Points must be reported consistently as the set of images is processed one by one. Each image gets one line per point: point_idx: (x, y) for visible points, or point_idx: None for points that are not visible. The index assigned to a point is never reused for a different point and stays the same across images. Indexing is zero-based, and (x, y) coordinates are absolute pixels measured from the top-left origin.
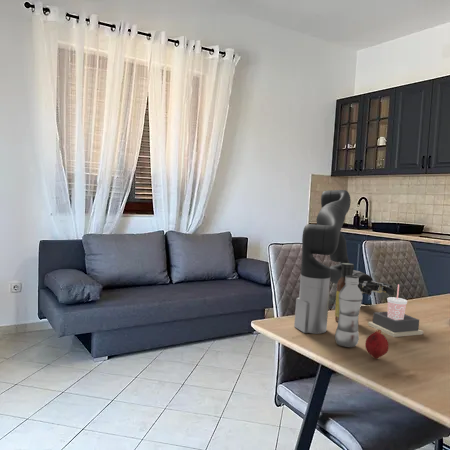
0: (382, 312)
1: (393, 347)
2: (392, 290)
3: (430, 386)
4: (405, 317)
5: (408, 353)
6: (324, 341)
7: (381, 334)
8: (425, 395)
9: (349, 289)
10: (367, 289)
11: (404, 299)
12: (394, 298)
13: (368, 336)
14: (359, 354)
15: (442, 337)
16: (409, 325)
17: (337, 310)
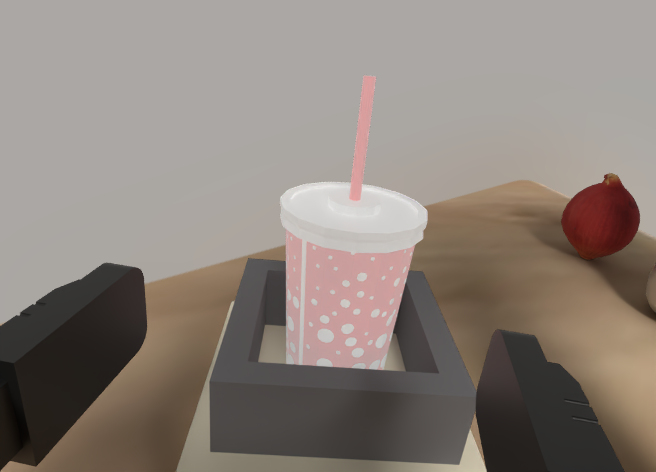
0: (389, 382)
1: (486, 280)
2: (140, 275)
3: (502, 197)
4: (260, 314)
5: (458, 252)
6: None
7: (600, 183)
8: (528, 193)
9: None
10: (556, 378)
11: (288, 196)
12: (372, 204)
13: (636, 208)
14: (636, 279)
15: (179, 280)
16: None
17: None
